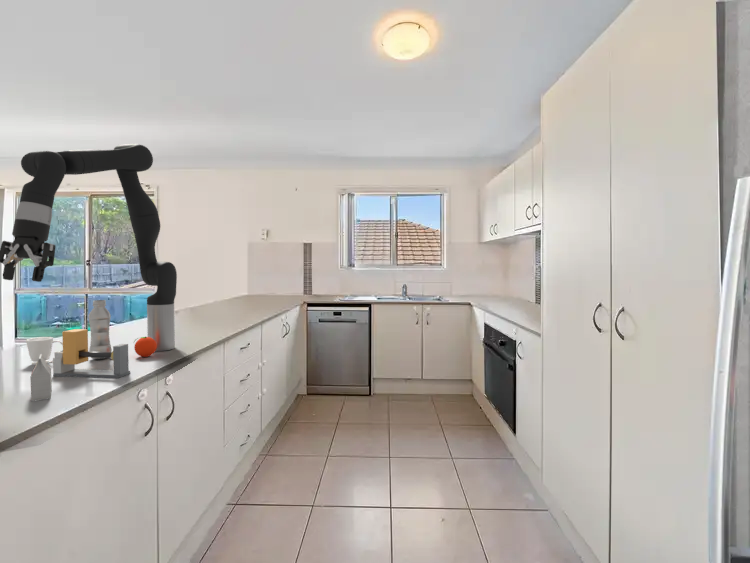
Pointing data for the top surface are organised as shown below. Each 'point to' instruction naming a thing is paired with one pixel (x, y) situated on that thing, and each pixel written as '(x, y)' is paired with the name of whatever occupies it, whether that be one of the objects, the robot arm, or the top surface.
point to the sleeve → (74, 345)
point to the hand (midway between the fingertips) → (22, 280)
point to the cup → (40, 348)
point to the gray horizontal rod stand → (120, 369)
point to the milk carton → (41, 380)
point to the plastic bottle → (99, 328)
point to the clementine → (145, 346)
